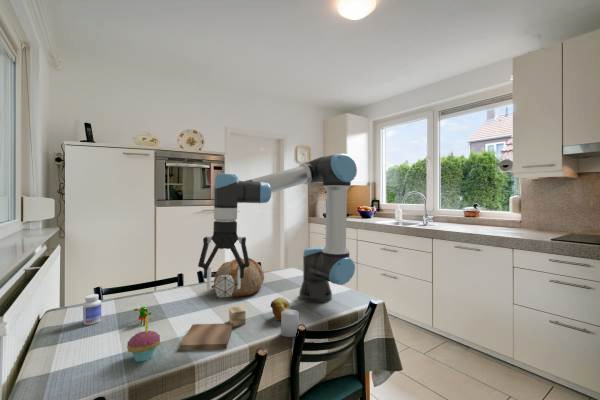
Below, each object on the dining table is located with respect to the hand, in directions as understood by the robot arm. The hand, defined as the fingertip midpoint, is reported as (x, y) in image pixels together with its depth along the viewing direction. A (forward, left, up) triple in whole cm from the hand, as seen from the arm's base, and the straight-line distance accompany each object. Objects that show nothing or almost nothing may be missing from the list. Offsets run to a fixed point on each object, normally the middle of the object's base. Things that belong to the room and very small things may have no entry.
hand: (223, 287), depth 96 cm
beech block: (-3, -10, -16) cm, 20 cm away
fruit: (-19, -12, -17) cm, 28 cm away
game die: (0, 0, -3) cm, 3 cm away
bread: (0, -49, -17) cm, 51 cm away
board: (+5, +1, -16) cm, 17 cm away
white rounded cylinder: (-22, 0, -16) cm, 27 cm away
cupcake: (+21, +11, -17) cm, 29 cm away
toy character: (+30, -12, -17) cm, 37 cm away
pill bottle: (+50, -14, -17) cm, 54 cm away
